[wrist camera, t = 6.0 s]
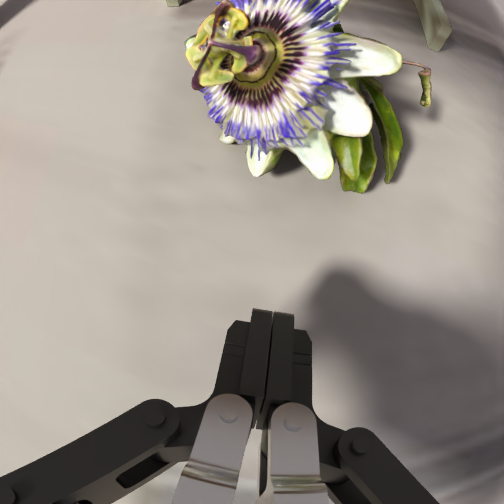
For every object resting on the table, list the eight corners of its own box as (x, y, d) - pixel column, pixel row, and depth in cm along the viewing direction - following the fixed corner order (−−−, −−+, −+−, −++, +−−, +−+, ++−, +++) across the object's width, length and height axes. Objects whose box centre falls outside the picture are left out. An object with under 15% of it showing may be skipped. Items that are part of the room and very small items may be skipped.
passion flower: (239, 174, 23) (130, 48, 14) (344, 89, 22) (274, -43, 14) (338, 271, 16) (185, 57, 7) (466, 144, 15) (422, -62, 6)
